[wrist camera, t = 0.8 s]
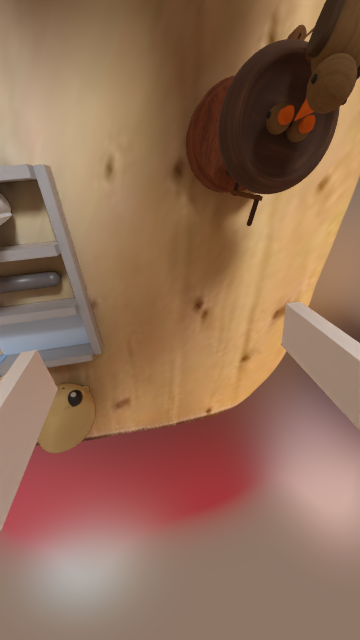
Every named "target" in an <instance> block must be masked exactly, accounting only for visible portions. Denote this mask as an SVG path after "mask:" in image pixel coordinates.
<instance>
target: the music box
mask: <svg viewBox="0 0 360 640" xmlns="http://www.w3.org/2000/svg"><path fill="white" fill-rule="evenodd" d="M311 32H313V33H312V35H311V38H310V41H309V42H306V41H304V40H305V38H306V37H307V36H308V35H309V34H310V33H311ZM359 77H360V0H326V2H325V4H324V7H323V9H322V11H321V13H320V16H319V18H318V20H317V23H316V25H315V27H314V28H313V29H312V30H311V31H310V32H309V33H307V34H306V28H305V26H304V25H299V26H298V27H297V28H296V29H295V30H294V31H293V32H292V33H291V34H290V35H289V36H288V38H287V39H286V40H281V41H277V42H274V43H272V44H269V45H267V46H266V47H264V48H262V49H261V50H259V51H258V52H256V53H255V54H254V55H253V56H252V57H251V58H250V59H249V60H248V61H247V62H246V63H245V64H244V65H243V66H242V67H241V69H240V70H239V71H238V73H237V74H236V76H231V77H228V78H226V79H224V80H222V81H220V82H219V83H217V84H216V85H215V86H213V87H212V88H211V89H210V90H209V91H208V93H207V94H206V95H205V97H204V98H203V99H202V101H201V102H200V104H199V105H198V106H197V108H196V110H195V111H194V113H193V115H192V118H191V120H190V123H189V127H188V131H187V140H186V147H187V156H188V160H189V163H190V166H191V169H192V171H193V172H194V174H195V176H196V177H197V179H198V180H199V181H200V182H201V183H202V184H203V185H205V186H206V187H208V188H209V189H211V190H214V191H217V192H230V194H232V195H234V196H241V197H245V198H250V199H254V203H253V206H252V209H251V212H250V215H249V218H248V222H247V225H248V226H251V224H252V221H253V218H254V215H255V212H256V209H257V205H258V202H259V200H260V201H261V200H262V198H263V197H262V196H260V195H254V194H249V193H244V192H240V191H244V190H246V189H247V190H249V191H251V192H254V193H259V194H274V193H278V192H282V191H285V190H287V189H289V188H291V187H293V186H295V185H296V184H298V183H299V182H301V181H302V180H303V179H305V178H306V177H307V176H308V175H309V174H310V173H311V172H312V171H313V170H314V169H315V167H316V166H317V165H318V164H319V162H320V161H321V159H322V158H323V156H324V155H325V153H326V151H327V149H328V147H329V145H330V143H331V141H332V138H333V135H334V133H335V129H336V125H337V121H338V116H339V107H340V106H341V105H344V104H345V103H346V101H347V98H348V97H349V95H350V94H351V92H352V90H353V88H354V86H355V83H356V80H357V79H358V78H359Z"/></svg>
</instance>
